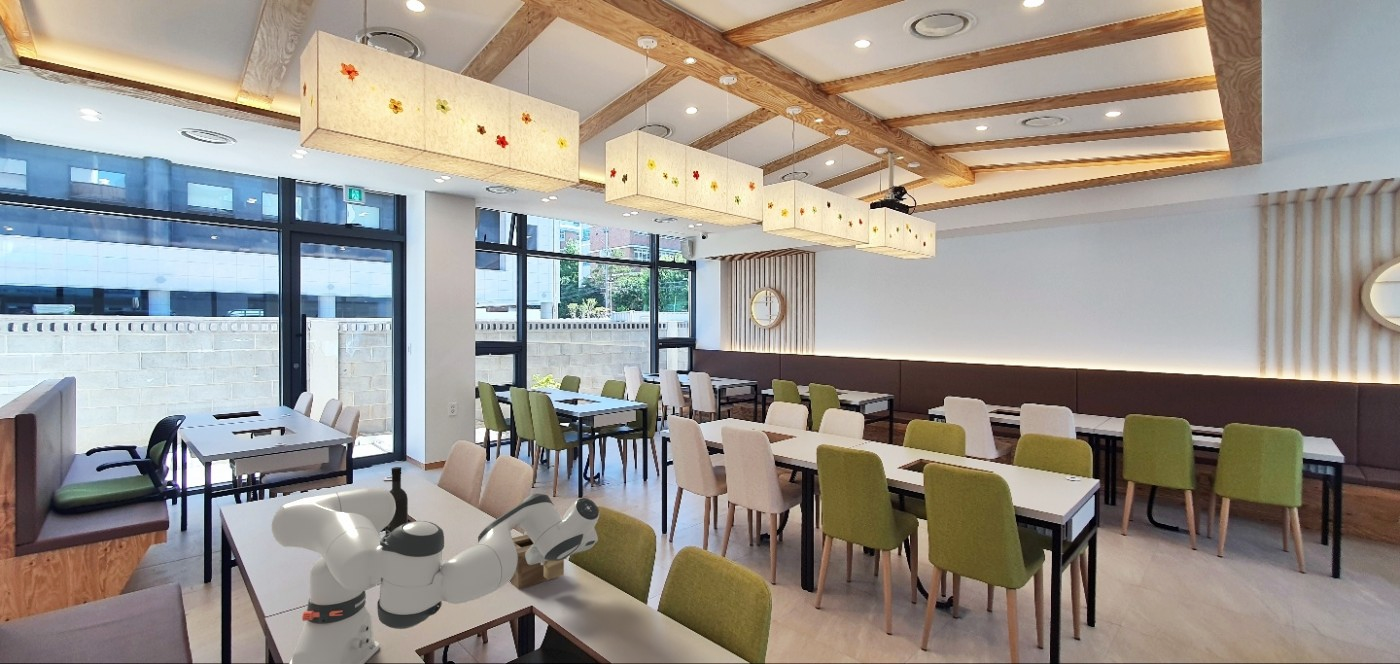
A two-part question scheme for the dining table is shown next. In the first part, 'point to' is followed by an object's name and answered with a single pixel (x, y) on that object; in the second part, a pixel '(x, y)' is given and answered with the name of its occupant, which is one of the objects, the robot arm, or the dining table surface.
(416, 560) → the robot arm
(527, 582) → the slot box
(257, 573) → the dining table surface
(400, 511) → the wine bottle
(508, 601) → the dining table surface
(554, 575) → the domino block
